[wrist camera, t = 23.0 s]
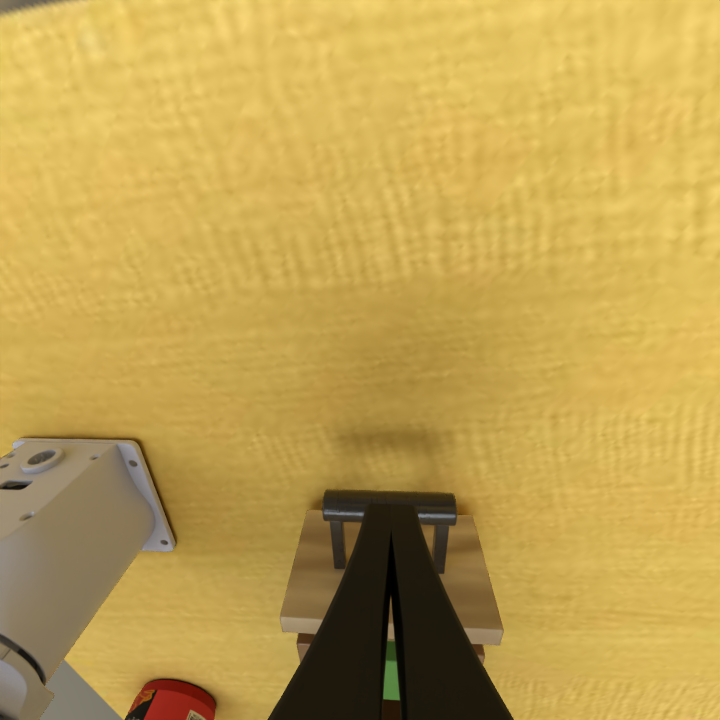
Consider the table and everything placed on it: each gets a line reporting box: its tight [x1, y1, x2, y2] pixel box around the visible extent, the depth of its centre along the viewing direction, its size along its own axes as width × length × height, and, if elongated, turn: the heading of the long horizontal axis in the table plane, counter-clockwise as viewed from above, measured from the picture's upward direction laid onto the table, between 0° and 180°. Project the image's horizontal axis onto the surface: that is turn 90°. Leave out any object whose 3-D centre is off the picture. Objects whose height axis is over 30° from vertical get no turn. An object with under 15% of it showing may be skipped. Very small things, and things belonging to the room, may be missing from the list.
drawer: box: [280, 489, 504, 720], centre depth 20 cm, size 18×10×6 cm, turn 2°
